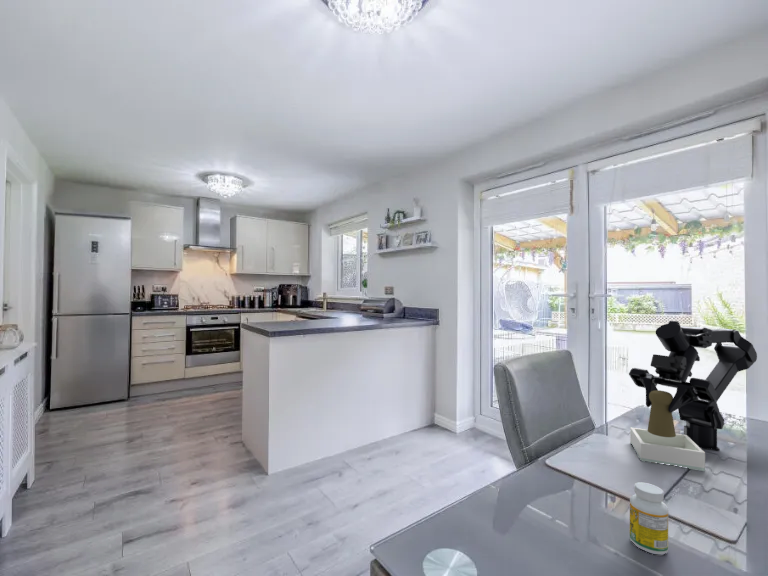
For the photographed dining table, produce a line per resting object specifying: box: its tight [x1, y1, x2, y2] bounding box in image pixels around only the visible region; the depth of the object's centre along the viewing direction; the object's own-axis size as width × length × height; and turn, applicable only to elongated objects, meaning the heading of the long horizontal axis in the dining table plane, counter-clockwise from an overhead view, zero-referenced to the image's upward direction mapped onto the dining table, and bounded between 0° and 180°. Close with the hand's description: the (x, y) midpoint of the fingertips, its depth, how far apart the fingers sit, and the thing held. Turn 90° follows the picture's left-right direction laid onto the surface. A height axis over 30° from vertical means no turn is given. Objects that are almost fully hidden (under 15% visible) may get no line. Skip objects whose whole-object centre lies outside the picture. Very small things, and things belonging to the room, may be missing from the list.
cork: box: [647, 389, 677, 437], centre depth 99 cm, size 6×6×11 cm
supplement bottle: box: [629, 481, 669, 554], centre depth 63 cm, size 5×5×10 cm
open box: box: [629, 427, 706, 472], centre depth 100 cm, size 13×13×4 cm
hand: (658, 408), depth 99 cm, fingers closed on cork, 5 cm apart
